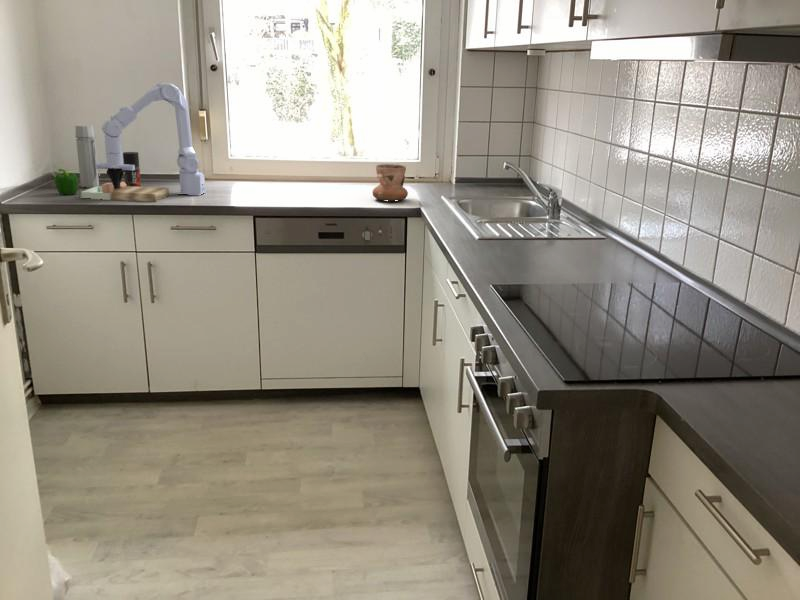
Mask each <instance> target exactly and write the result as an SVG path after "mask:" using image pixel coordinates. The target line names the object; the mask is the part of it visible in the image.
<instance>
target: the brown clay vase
mask: <svg viewBox="0 0 800 600" xmlns="http://www.w3.org/2000/svg"><path fill="white" fill-rule="evenodd" d="M406 169H407V167H406V165H403V164H399V163H397V164H395V163H381V164H380V163H379V164H376V165H375V172H376V174H377V175H376V178H377V179H378V181H379V183H378V185H377V186H375V187H374V188H373V189H372V196H373V198H374V199H377V200H378V199H379V200H378V201H381V200H388V201H395V200H401V201H403V200H405V199H406V198H407V197H408V194H409V192H408V190H407V189H406V188H405V187H404V184H405V183H404V182H405V180H406V179H405V178H406V177H405V176H406V175H405V173H406V172H407V171H406Z"/></svg>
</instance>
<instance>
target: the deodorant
mask: <svg viewBox="0 0 800 600" xmlns="http://www.w3.org/2000/svg"><path fill="white" fill-rule="evenodd" d="M122 159H123V164H129V165H135V170H133V171H131V170H125V171H124V182H125V184H126V185H127V186H134V187H142V182H141V169H140V157H139V152H136V151H124V152H122Z"/></svg>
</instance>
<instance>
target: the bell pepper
mask: <svg viewBox="0 0 800 600" xmlns="http://www.w3.org/2000/svg"><path fill="white" fill-rule="evenodd" d="M58 172H63V173H56V175H55V177H54V183H55V187H56V190H57V192H58V193H59V194H60V195H61V194H62V195H63V196H66V195H67V196H72V194H73V195H76V194H77V192H78V190H79V185H80V184H79V178H78V176H77V174H76V173H73V172H72V173H68V172H67V170H65V168H59V169H58ZM65 194H66V195H65Z"/></svg>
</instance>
